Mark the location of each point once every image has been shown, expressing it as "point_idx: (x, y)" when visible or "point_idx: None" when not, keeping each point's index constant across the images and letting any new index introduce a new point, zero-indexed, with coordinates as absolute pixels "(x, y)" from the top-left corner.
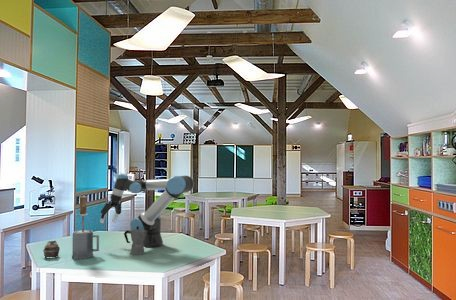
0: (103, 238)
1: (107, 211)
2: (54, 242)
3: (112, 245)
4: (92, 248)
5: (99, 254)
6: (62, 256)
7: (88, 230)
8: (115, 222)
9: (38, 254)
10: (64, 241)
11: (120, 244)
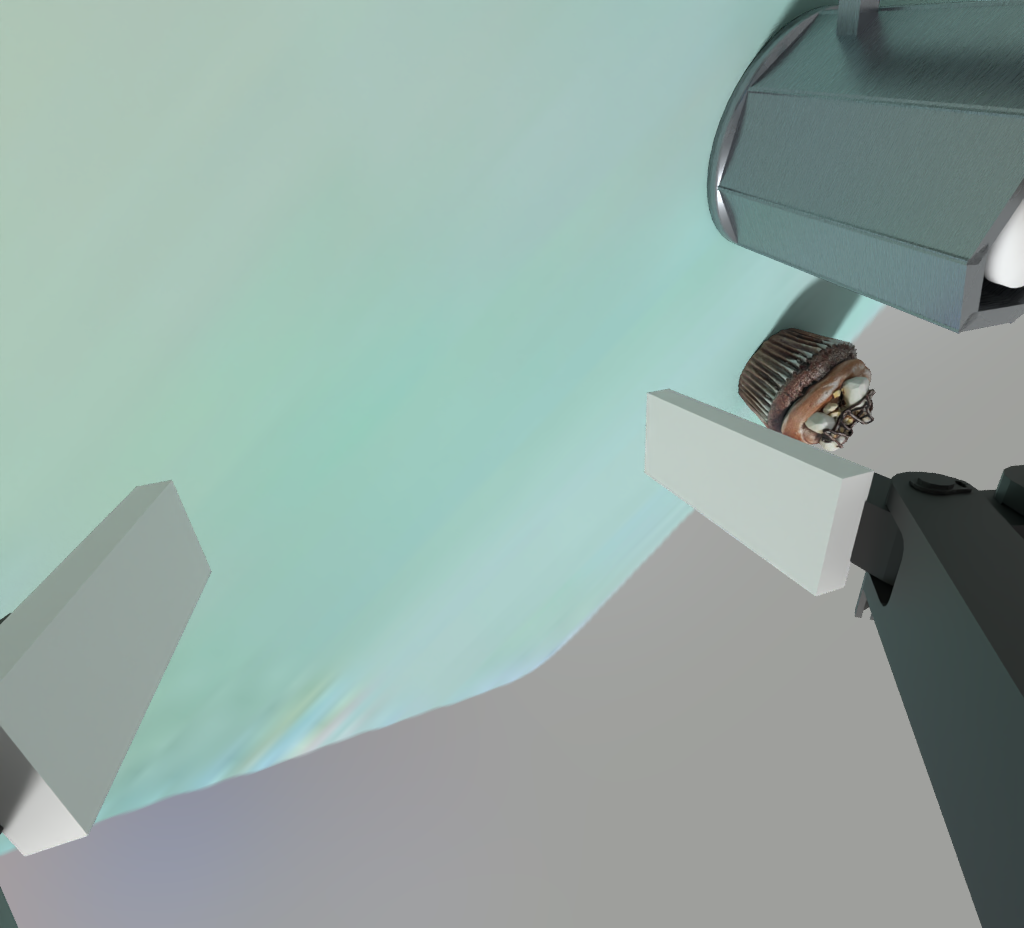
0: None
1: (976, 564)
2: (869, 396)
3: (255, 263)
4: (897, 8)
5: (712, 10)
6: (766, 314)
7: (1018, 204)
8: (137, 487)
9: None
10: (411, 662)
11: (99, 195)
